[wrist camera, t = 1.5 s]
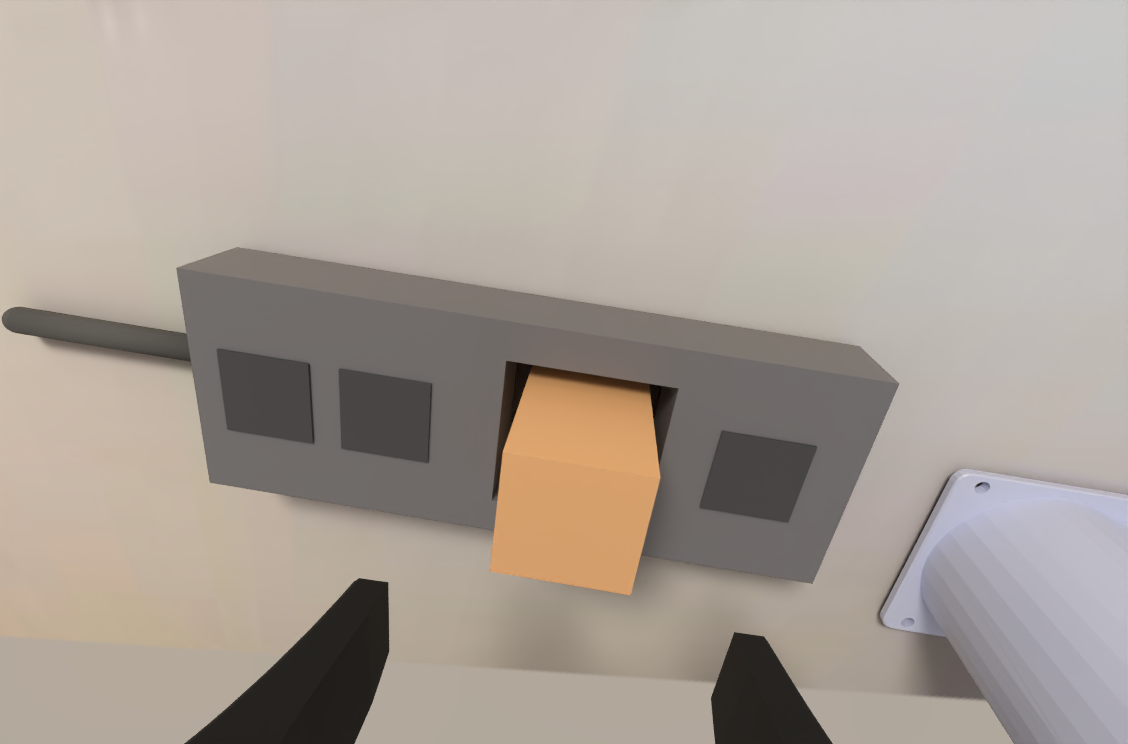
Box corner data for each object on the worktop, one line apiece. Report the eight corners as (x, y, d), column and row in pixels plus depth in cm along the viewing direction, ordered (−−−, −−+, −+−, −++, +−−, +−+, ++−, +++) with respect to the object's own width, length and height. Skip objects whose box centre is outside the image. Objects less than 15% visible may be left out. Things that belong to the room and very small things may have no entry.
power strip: (859, 346, 19) (900, 385, 17) (788, 527, 23) (813, 585, 20) (-10, 208, 20) (-113, 222, 17) (46, 404, 23) (-32, 443, 20)
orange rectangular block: (646, 365, 20) (660, 478, 14) (626, 457, 22) (630, 595, 16) (538, 348, 20) (502, 451, 14) (526, 440, 22) (489, 571, 16)
